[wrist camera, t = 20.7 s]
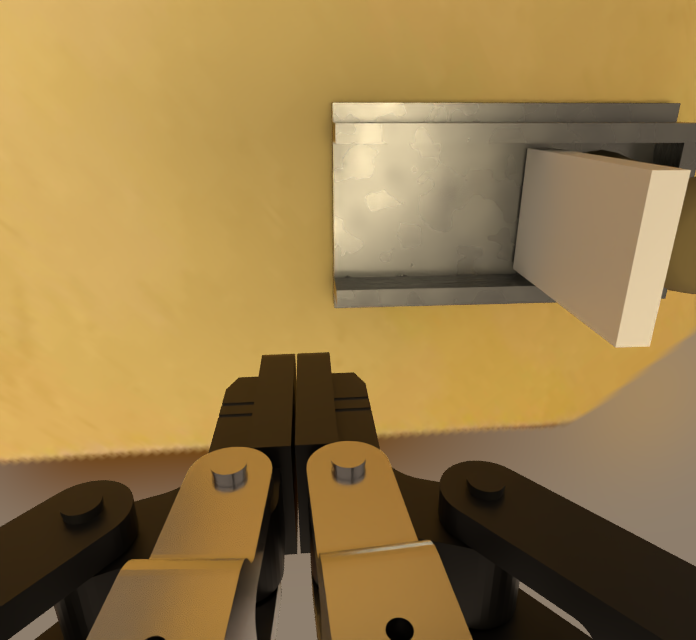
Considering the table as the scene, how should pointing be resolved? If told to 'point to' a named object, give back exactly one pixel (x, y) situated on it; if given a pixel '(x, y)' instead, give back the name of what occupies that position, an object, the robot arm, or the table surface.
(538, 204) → the panel
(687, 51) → the table surface
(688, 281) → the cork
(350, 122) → the grey metal tray
